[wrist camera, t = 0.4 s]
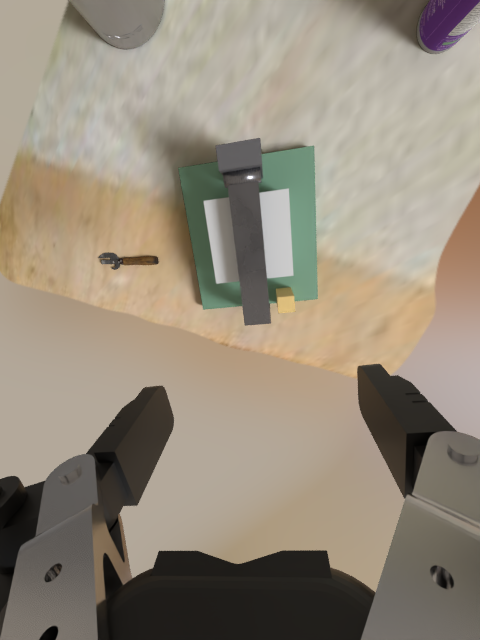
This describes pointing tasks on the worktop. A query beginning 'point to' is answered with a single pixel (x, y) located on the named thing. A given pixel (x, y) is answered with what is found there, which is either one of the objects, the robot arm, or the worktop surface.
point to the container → (446, 23)
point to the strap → (249, 243)
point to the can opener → (127, 260)
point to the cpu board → (299, 215)
